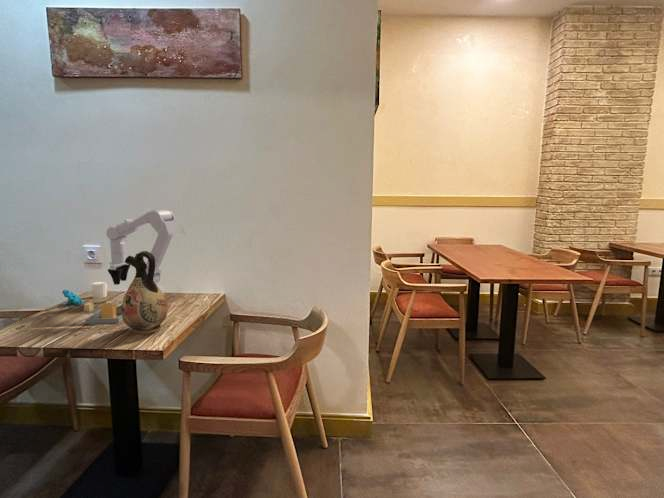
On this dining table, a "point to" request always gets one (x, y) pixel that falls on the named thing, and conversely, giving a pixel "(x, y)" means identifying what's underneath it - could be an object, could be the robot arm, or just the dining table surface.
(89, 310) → the panel
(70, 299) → the gear
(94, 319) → the parts tray
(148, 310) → the ceramic jug
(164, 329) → the dining table surface
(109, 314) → the block
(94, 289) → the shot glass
